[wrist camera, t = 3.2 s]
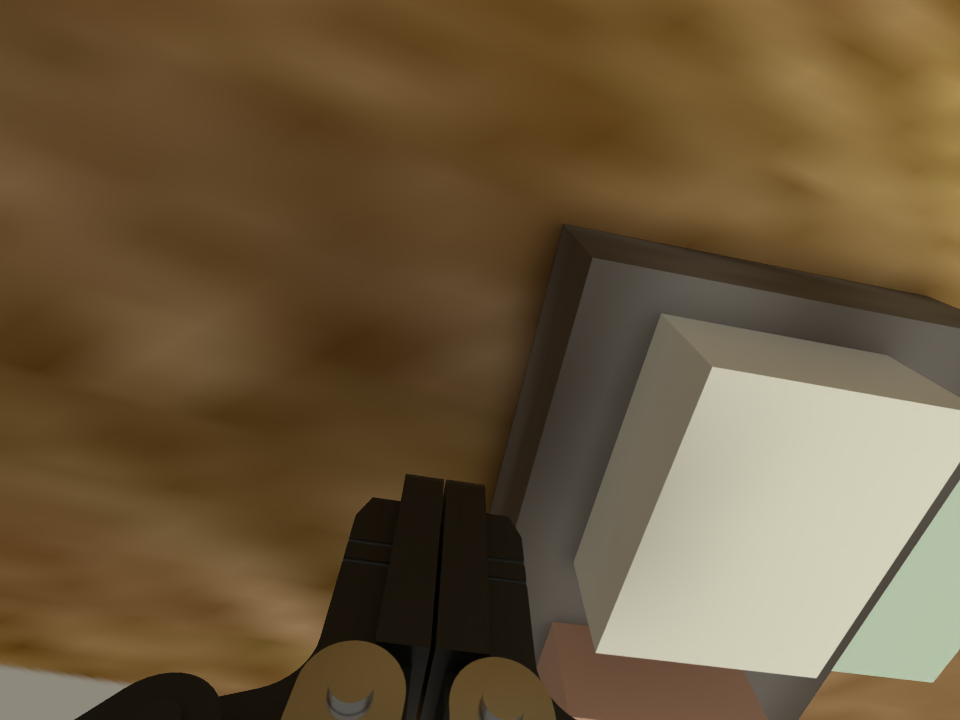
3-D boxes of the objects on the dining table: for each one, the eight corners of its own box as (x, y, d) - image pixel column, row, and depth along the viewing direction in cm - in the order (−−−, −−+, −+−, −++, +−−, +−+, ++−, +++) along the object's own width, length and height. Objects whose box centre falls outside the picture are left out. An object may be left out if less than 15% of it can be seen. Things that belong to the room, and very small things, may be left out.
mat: (742, 652, 24) (746, 661, 24) (934, 314, 18) (943, 318, 17) (925, 674, 25) (932, 682, 25) (1170, 360, 19) (1185, 365, 18)
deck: (459, 627, 23) (459, 725, 19) (563, 224, 16) (592, 257, 13) (727, 659, 24) (773, 755, 21) (927, 296, 18) (1049, 345, 14)
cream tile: (573, 562, 16) (595, 652, 14) (660, 313, 13) (712, 366, 10) (760, 587, 17) (816, 678, 14) (887, 355, 14) (990, 415, 11)
